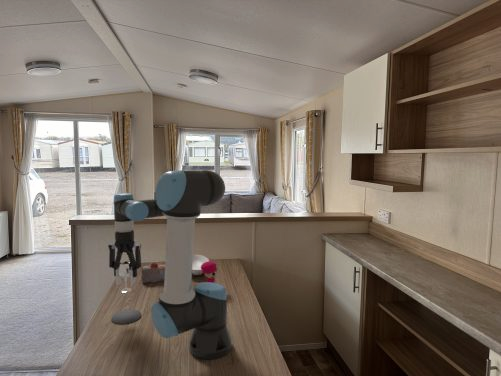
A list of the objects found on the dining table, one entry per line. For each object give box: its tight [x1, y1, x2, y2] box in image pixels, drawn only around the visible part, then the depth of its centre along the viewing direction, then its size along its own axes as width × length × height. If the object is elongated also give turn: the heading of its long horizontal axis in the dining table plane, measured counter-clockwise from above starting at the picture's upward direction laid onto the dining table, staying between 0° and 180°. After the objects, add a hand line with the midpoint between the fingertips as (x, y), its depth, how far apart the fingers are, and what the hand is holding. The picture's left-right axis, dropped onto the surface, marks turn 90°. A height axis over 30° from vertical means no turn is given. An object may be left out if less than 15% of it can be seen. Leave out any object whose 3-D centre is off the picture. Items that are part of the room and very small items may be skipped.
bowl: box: [192, 254, 210, 276], centre depth 202 cm, size 30×15×6 cm, turn 13°
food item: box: [140, 262, 165, 284], centre depth 186 cm, size 14×8×10 cm, turn 111°
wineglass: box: [118, 260, 133, 293], centre depth 142 cm, size 6×6×12 cm
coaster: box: [111, 309, 142, 325], centre depth 143 cm, size 12×12×1 cm
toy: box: [201, 260, 218, 283], centre depth 173 cm, size 8×8×15 cm
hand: (125, 283), depth 142 cm, fingers closed on wineglass, 6 cm apart
